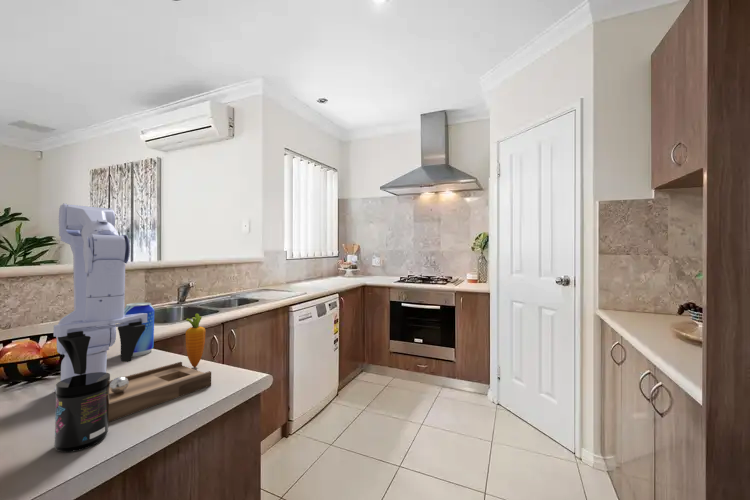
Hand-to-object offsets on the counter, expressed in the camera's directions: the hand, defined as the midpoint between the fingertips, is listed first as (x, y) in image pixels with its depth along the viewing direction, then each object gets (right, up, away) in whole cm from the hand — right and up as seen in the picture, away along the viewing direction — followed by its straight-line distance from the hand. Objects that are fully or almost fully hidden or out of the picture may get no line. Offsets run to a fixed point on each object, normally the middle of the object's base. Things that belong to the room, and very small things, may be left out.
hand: (104, 366), depth 60 cm
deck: (+1, -10, +10) cm, 15 cm away
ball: (-2, -6, +6) cm, 9 cm away
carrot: (+1, -11, +28) cm, 30 cm away
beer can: (-25, -11, +41) cm, 49 cm away
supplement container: (+3, -10, -8) cm, 13 cm away
